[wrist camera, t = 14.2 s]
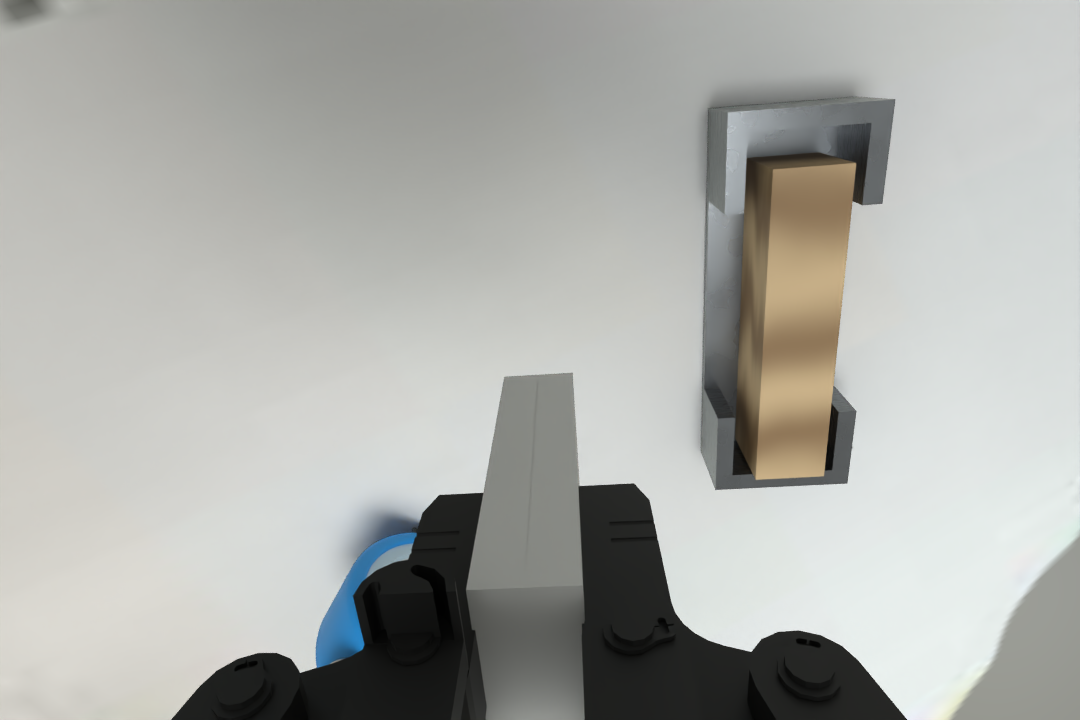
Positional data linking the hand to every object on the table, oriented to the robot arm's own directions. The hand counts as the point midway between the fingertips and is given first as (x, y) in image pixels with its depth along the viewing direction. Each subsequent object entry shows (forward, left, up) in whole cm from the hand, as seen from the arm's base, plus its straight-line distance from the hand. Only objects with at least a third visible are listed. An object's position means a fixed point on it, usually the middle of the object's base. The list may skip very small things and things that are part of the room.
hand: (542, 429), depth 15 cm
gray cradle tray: (+6, +13, -26) cm, 30 cm away
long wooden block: (+7, +13, -26) cm, 30 cm away
